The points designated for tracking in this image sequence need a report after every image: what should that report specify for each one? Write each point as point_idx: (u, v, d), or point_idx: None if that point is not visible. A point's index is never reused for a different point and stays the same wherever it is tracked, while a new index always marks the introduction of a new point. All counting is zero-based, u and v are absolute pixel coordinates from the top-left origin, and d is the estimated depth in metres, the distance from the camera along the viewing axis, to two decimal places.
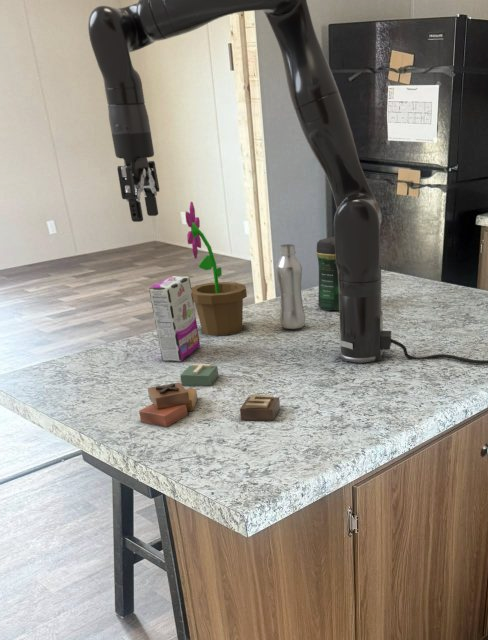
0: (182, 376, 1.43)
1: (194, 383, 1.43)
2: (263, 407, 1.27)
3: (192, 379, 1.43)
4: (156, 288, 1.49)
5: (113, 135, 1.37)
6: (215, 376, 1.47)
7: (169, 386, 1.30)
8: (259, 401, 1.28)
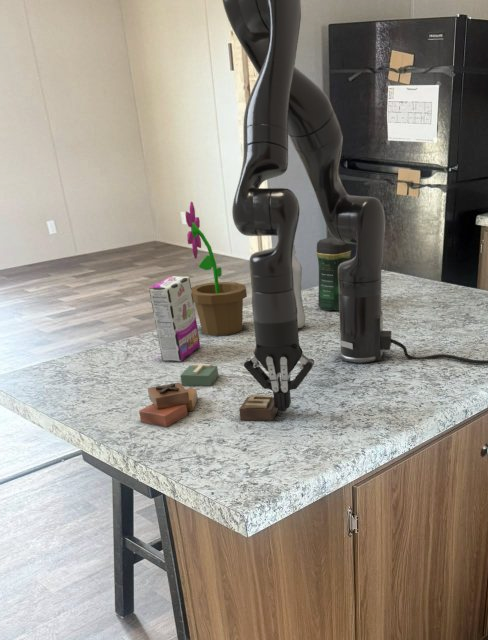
0: (182, 376, 1.43)
1: (194, 383, 1.43)
2: (262, 407, 1.27)
3: (192, 379, 1.43)
4: (156, 288, 1.49)
5: None
6: (215, 376, 1.47)
7: (169, 386, 1.30)
8: (258, 401, 1.28)
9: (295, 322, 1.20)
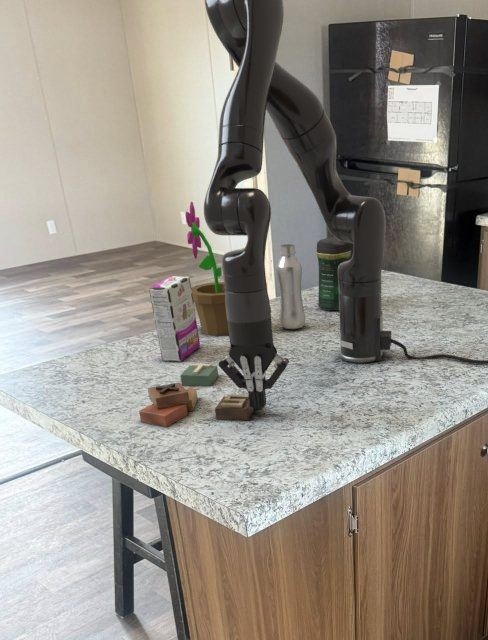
0: (182, 376, 1.43)
1: (194, 383, 1.43)
2: (238, 407, 1.27)
3: (192, 379, 1.43)
4: (156, 288, 1.49)
5: None
6: (215, 376, 1.47)
7: (169, 386, 1.30)
8: (234, 401, 1.29)
9: (268, 321, 1.20)
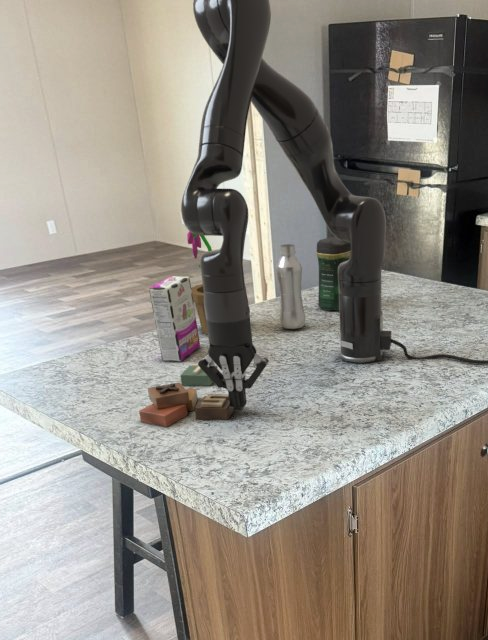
0: (182, 376, 1.43)
1: (194, 383, 1.43)
2: (218, 406, 1.27)
3: (192, 379, 1.43)
4: (156, 288, 1.49)
5: None
6: None
7: (169, 386, 1.30)
8: (214, 400, 1.29)
9: (247, 321, 1.20)
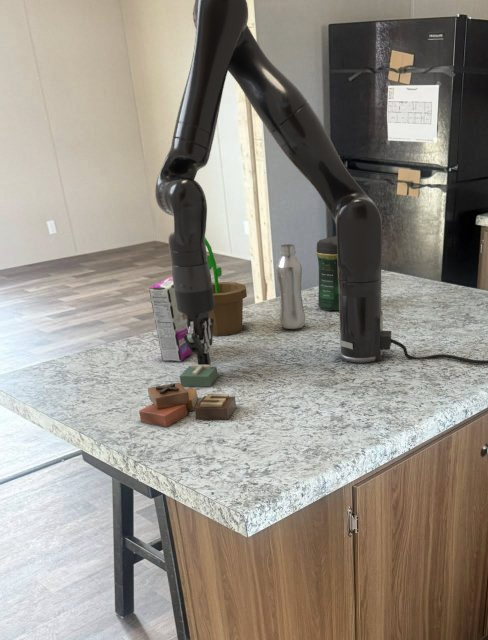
0: (181, 377, 1.43)
1: (193, 384, 1.43)
2: (217, 406, 1.27)
3: (191, 380, 1.43)
4: (156, 288, 1.49)
5: (176, 292, 1.39)
6: (215, 377, 1.46)
7: (169, 386, 1.30)
8: (214, 400, 1.29)
9: None
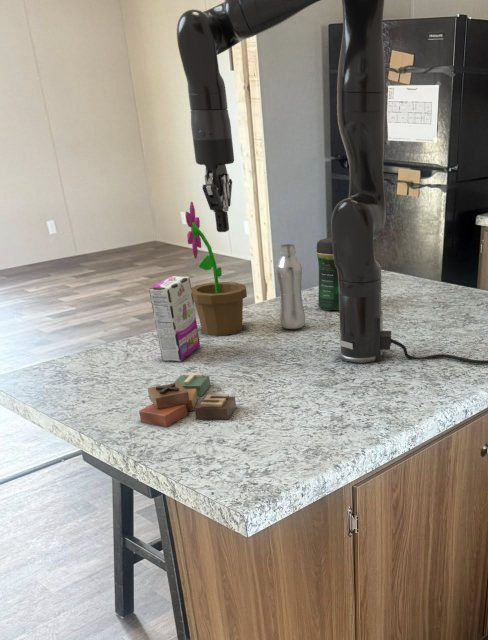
0: None
1: None
2: (217, 406, 1.27)
3: None
4: (156, 288, 1.49)
5: (195, 141, 1.34)
6: (207, 386, 1.42)
7: (169, 386, 1.30)
8: (214, 400, 1.29)
9: None
